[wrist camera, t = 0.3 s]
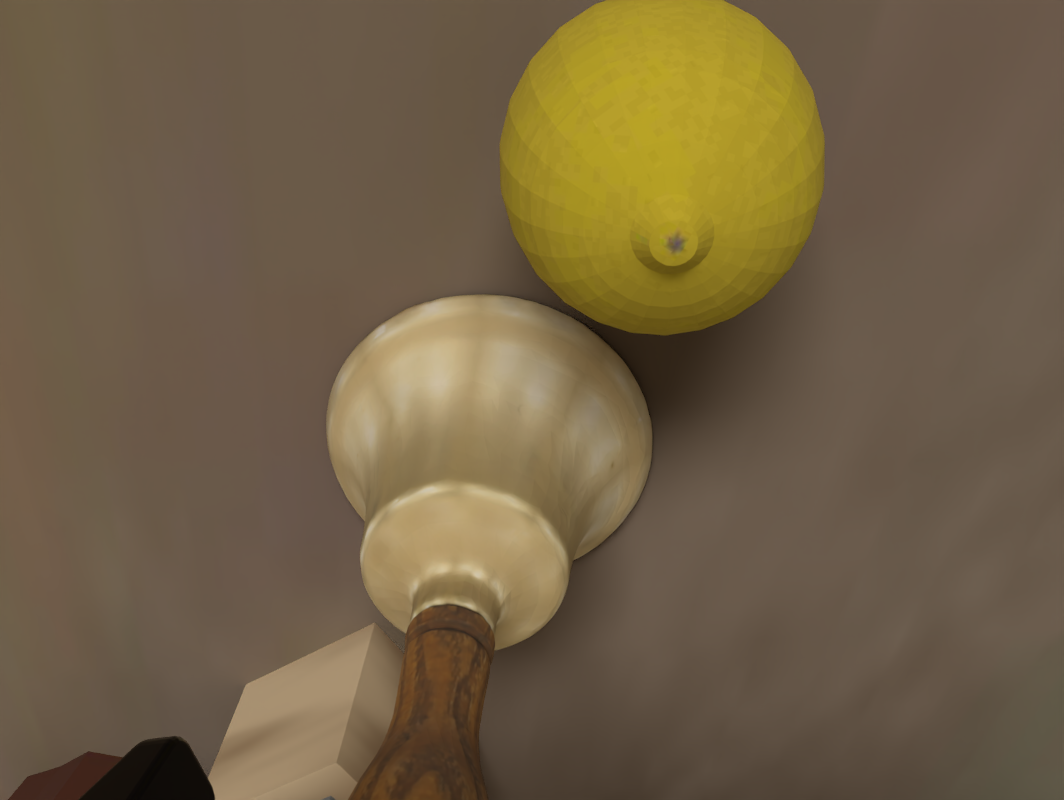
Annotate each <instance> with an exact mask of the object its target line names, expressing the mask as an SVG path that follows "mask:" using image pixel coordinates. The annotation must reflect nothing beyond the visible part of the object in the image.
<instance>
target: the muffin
mask: <svg viewBox="0 0 1064 800" xmlns="http://www.w3.org/2000/svg"><path fill="white" fill-rule="evenodd" d="M121 759H122V757H117V756H111V755H105V754H100V753H94V752H89V751H88V752H87V753H85V754H83V755H81V756H79V757H77V758H75V759H74V760H72V761H70V762H68V763H66V764H64V765H63V766H61V767H58V768H54V769H51V770H48V771H45V772H41V773H38V774H35V775H31V776H28V777H27V778H26V779H25V780H24V782H23V783H22V784H21V785H20V786H19V787H18V789H17V790H16V791H15V792H14V793H13V795H12V796H11V797H10V798H9V799H8V800H78V799H79V798H80V797H81V796H82V795H83V794H84V793H86V792H87V791H88V790H89V789H90V788H91V787H92V786H93V785H94V784H95V783H96V782H97V781H98V780H99V779H101V778H102V777H103V776H104V775H105V774H106V773H107V772H108V771H109V770H110V769H111V768H112V767H113V766H114V765H116V764H117V763H118V762H119V761H120V760H121Z"/></svg>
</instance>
